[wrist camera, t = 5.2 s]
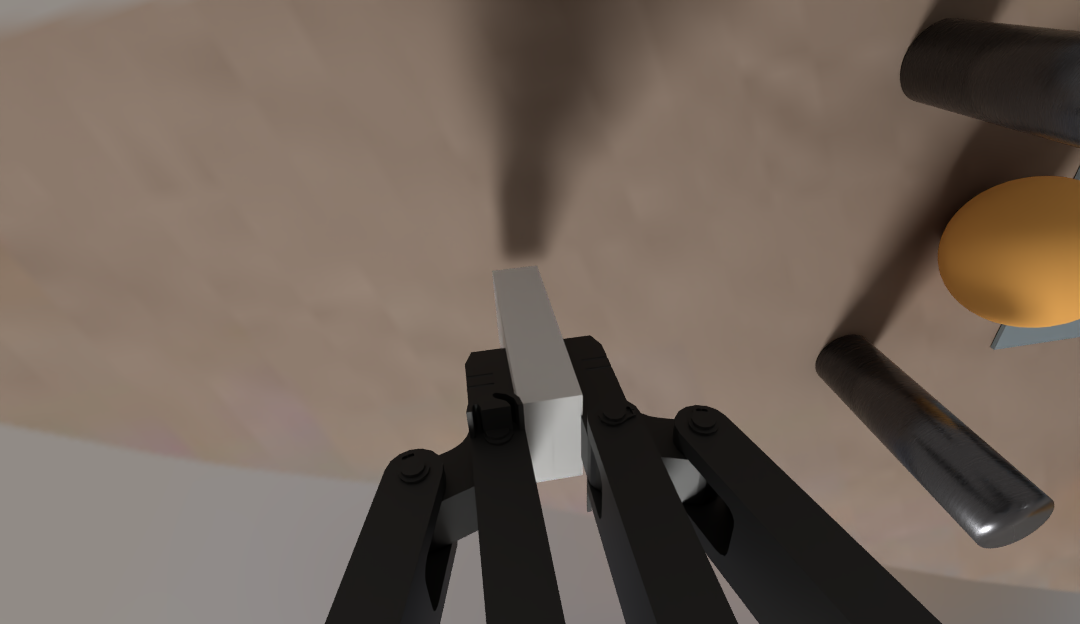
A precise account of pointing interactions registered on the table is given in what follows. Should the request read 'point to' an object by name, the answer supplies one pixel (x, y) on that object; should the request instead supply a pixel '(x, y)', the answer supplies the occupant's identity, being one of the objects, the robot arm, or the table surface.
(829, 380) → the post
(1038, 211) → the ball
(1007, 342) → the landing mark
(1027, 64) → the post
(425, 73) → the table surface
